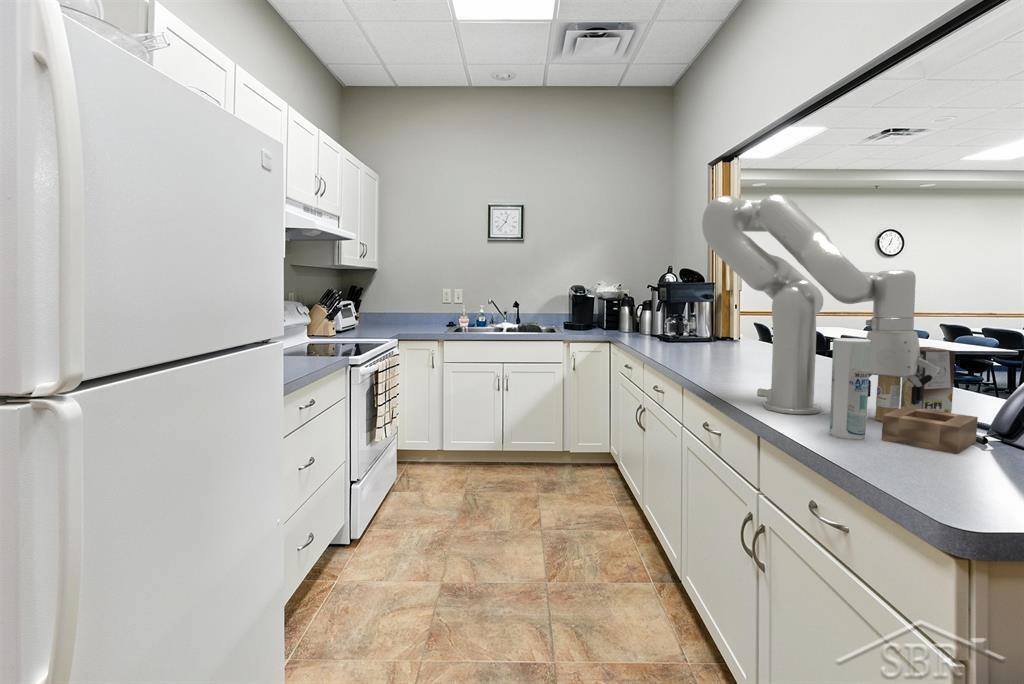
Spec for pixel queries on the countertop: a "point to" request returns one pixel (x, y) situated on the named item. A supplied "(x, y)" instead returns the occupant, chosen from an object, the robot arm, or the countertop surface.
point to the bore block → (930, 429)
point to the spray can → (849, 387)
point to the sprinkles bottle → (887, 395)
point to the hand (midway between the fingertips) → (889, 400)
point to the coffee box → (933, 382)
